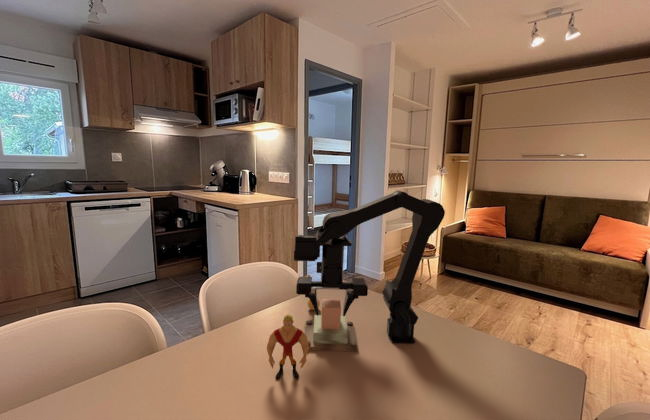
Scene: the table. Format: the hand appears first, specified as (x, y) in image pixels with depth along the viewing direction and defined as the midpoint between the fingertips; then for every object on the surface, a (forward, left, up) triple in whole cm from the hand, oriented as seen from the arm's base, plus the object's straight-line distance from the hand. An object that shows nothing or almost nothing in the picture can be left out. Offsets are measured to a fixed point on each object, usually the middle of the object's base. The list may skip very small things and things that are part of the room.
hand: (330, 315), depth 81 cm
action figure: (+10, +15, -7) cm, 19 cm away
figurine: (+6, -15, -7) cm, 17 cm away
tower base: (0, 0, -6) cm, 6 cm away
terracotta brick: (0, 0, -2) cm, 3 cm away
